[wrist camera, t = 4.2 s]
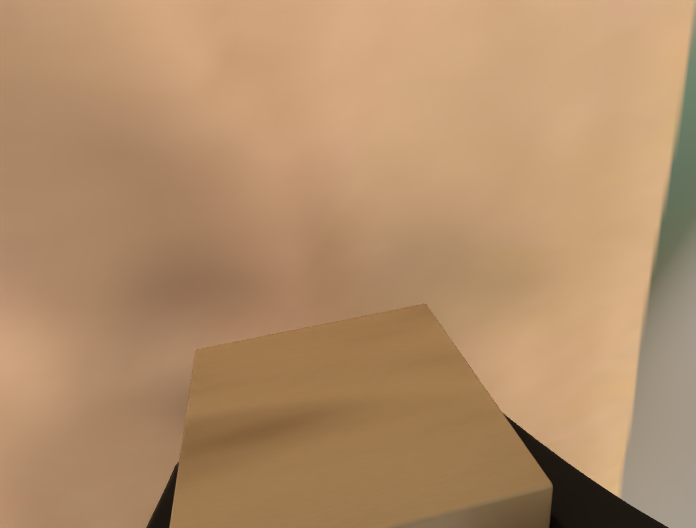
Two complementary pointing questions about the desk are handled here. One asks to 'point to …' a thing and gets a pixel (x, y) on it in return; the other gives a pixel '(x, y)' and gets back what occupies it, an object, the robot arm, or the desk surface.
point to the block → (351, 434)
